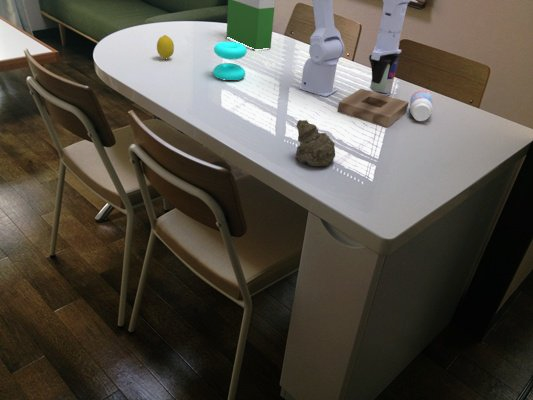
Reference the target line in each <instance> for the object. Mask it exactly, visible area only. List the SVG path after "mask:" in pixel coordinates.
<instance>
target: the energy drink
mask: <svg viewBox="0 0 533 400" xmlns="http://www.w3.org/2000/svg"><path fill="white" fill-rule="evenodd" d="M398 63H399V58H398V59H397V60H396V61H395V63H394V64H393V66H392V68H391V70H390V72H389V75H388V77H387V81H386V85H385V90H384V91H383V92H377V91H373V92H375V93H379V94H382V95H386V96H390V95H391V92H392V89H393V86H394V85H393V84H394V79H395V75H396V71H397V68H398Z"/></svg>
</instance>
